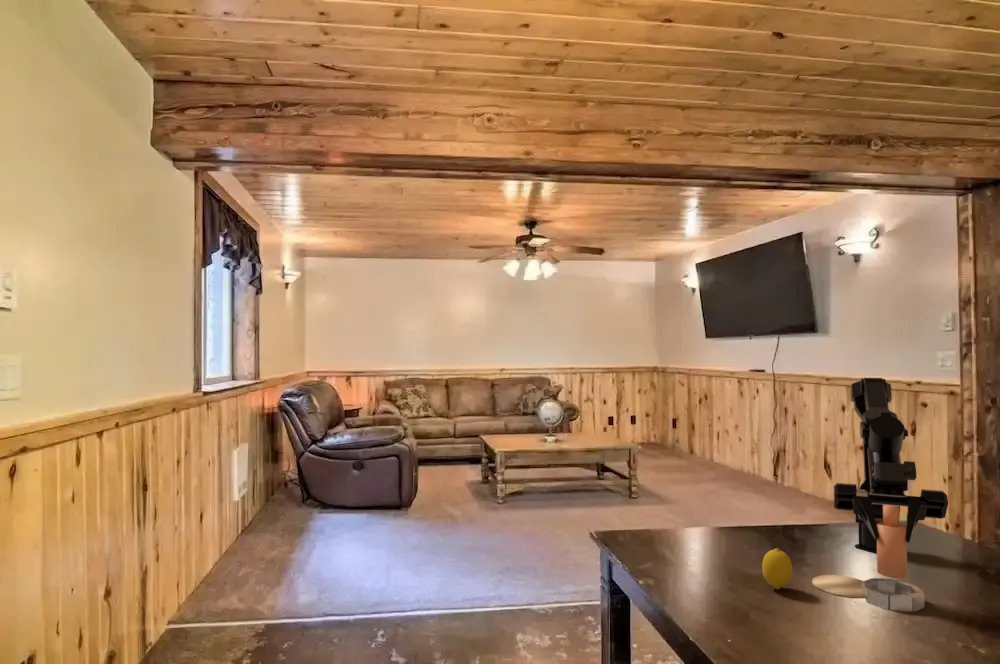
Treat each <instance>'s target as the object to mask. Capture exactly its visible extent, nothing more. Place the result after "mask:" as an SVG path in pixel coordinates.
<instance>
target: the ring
mask: <svg viewBox="0 0 1000 664" xmlns="http://www.w3.org/2000/svg"><path fill="white" fill-rule="evenodd" d="M862 594H863V595H864V597H863V599H864V598H865V599H866V600H865V599H864V600H865V602H866V603H868V604H871V605H874V606H876V607H879V608H882V609H886V610H890V611H896V612H909V613H912V612H913V613H914V612H916V611H919V610H922V609H925V605H926V604H925V592H924V591H923V590H922V589H921V588H920V587H919V586H917V585H916V584H911V583H908V582H905V581H902V580H899V579H895V578H892V579H891V578H880V577H879V578H877V577H873V578H868V579H866V580H862Z"/></svg>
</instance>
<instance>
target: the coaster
mask: <svg viewBox="0 0 1000 664" xmlns="http://www.w3.org/2000/svg"><path fill="white" fill-rule="evenodd" d="M862 581H863V580H862V579H859V578H856V577H850V576H845V575H837V574H824V575H823V574H822V575H818V576H815V577H814V578H812V581H811V582H812V584H811V585H813V587H815V588H816V589H817V588H818V589H817V590H819V589H820V590H819V591H821V590H823V591H822V592H824V591H825V592H824V593H826V592H828V593H827V594H830V593H831V594H830V595H833V594H836V595H835V596H838V595H841V596H840V597H843V596H846V597H845V598H853V597H863V598H864V595H863V594H862Z"/></svg>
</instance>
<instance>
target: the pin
mask: <svg viewBox="0 0 1000 664" xmlns="http://www.w3.org/2000/svg"><path fill="white" fill-rule="evenodd" d="M876 526H877V535H878V538H877V553H876V561H877V562H876V565H877V567H876V568H877V569H876V571H877V574H880V575H881V576H884V577H887V578H892V579H904V578H907V577H908V549H907V537H906V525H905V524H902V523H900V515H899V507H898V506H895V505H883V522H877V523H876Z"/></svg>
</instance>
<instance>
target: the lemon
mask: <svg viewBox="0 0 1000 664" xmlns="http://www.w3.org/2000/svg"><path fill="white" fill-rule="evenodd" d="M761 571H762V575H763V578H764V579H765V580H766V582H767V583H768V584H769V585H771V586H773V588H775V590H780V589H782V588H783V587H786V586H788V584H790V582H791V580H792V578H793V573H794V572H793V571H794V570H793V564H792V561H791V558H790V557H789V555H788V554H786V552H784V551H783V550H781V549H780V548H778V547H776V548H774V549H771V550H769V551H767V552H766V553H765V554H764V556H763V559H762V565H761Z"/></svg>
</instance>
